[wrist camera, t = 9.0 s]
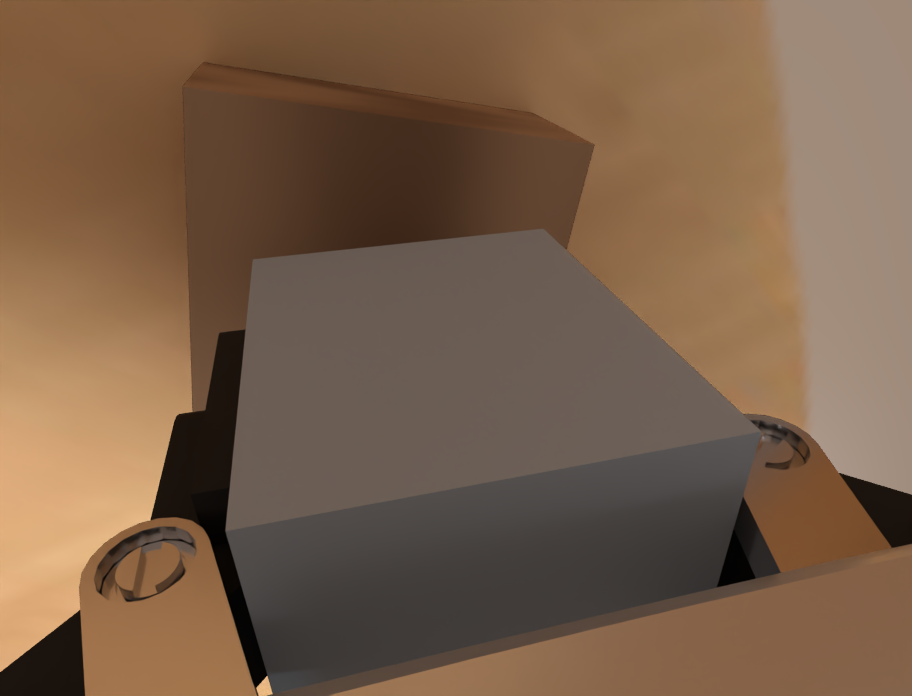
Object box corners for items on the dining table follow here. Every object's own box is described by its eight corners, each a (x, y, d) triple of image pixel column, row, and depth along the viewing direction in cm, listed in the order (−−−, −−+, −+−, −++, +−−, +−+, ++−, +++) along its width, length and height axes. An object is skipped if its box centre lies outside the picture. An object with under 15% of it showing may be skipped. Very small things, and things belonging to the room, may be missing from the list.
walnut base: (208, 364, 18) (194, 453, 14) (204, 61, 14) (182, 87, 11) (473, 369, 20) (513, 447, 17) (529, 111, 16) (594, 144, 13)
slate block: (253, 259, 10) (224, 531, 5) (543, 228, 11) (761, 431, 6) (298, 488, 13) (310, 821, 8) (531, 447, 14) (679, 719, 9)
